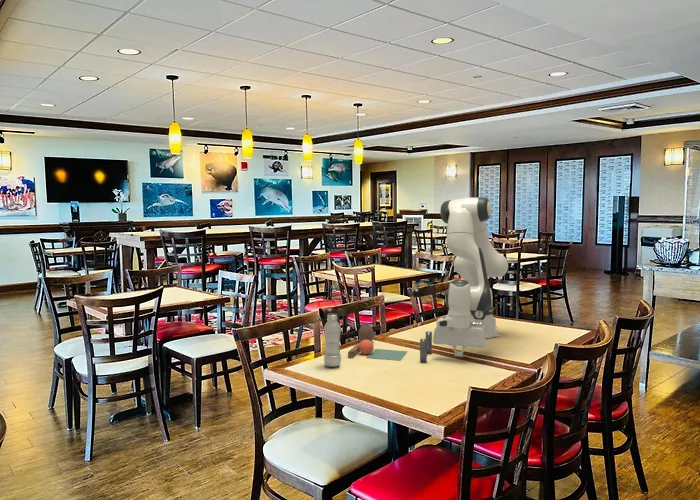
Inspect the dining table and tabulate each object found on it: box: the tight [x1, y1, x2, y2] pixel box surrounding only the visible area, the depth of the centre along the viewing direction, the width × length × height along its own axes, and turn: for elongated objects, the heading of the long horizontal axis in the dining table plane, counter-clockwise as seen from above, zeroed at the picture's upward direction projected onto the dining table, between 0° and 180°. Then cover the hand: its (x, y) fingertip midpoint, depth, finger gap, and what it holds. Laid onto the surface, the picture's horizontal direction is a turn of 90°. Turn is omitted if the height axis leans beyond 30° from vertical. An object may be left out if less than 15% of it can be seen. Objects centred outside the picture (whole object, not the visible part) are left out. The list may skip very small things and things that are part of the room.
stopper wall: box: [347, 340, 361, 359], centre depth 217 cm, size 18×2×2 cm, turn 163°
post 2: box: [425, 331, 433, 355], centre depth 215 cm, size 3×3×9 cm
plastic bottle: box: [323, 313, 342, 368], centre depth 197 cm, size 6×7×20 cm
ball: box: [359, 340, 375, 355], centre depth 215 cm, size 6×6×6 cm
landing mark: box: [365, 348, 408, 362], centre depth 214 cm, size 14×14×1 cm
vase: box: [358, 322, 375, 342], centre depth 235 cm, size 7×7×9 cm
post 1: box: [419, 338, 428, 364], centre depth 202 cm, size 3×3×9 cm
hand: (459, 356), depth 205 cm, fingers closed
